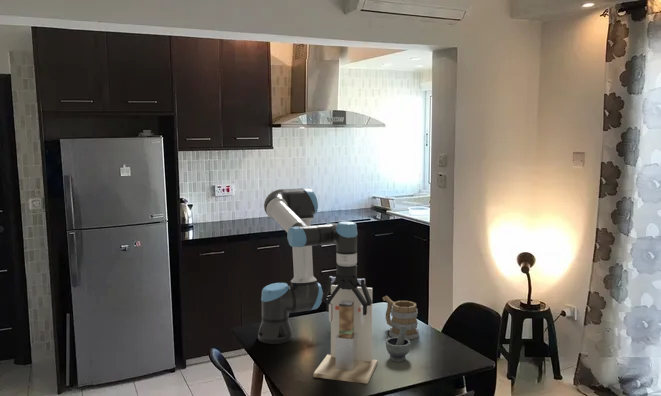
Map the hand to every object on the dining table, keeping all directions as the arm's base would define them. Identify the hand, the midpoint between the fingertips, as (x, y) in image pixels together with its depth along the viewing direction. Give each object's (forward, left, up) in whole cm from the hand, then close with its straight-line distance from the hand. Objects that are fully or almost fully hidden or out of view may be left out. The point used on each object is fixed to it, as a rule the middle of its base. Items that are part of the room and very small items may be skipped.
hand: (346, 321), depth 202 cm
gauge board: (0, +7, -17) cm, 19 cm away
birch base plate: (0, 0, -19) cm, 19 cm away
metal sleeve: (0, 0, -17) cm, 17 cm away
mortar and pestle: (+17, +17, -19) cm, 31 cm away
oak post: (0, 0, -17) cm, 17 cm away
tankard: (+12, +46, -19) cm, 51 cm away
